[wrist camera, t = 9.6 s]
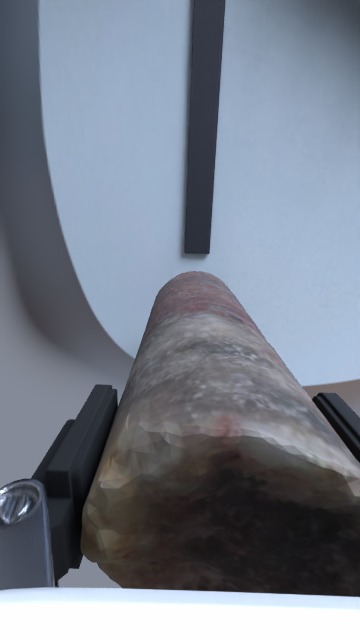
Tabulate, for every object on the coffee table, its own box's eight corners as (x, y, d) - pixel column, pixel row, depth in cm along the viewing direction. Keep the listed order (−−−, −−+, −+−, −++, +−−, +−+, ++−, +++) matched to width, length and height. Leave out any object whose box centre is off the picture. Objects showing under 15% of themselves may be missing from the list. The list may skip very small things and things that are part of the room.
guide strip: (184, 252, 27) (184, 252, 27) (199, -145, 19) (200, -151, 19) (208, 253, 27) (209, 253, 27) (234, -144, 19) (234, -150, 19)
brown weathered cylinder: (246, 337, 25) (427, 647, 6) (172, 361, 26) (135, 697, 7) (221, 258, 23) (376, 364, 4) (141, 287, 24) (-23, 484, 5)
